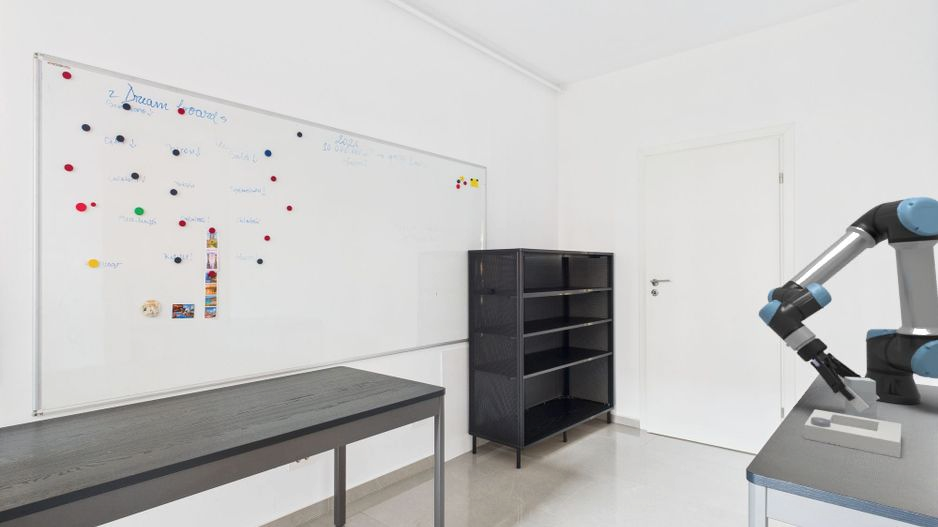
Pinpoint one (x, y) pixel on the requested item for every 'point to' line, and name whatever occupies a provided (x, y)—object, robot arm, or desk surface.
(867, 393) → the skincare box
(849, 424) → the housing
